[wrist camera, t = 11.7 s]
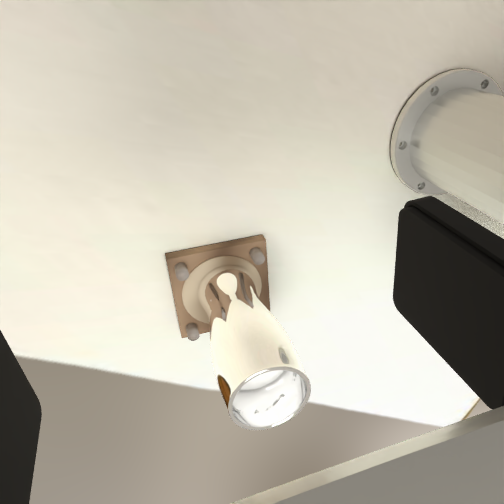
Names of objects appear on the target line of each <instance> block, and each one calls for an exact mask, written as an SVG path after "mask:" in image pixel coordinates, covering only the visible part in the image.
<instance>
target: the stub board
mask: <svg viewBox="0 0 504 504" xmlns="http://www.w3.org/2000/svg"><path fill="white" fill-rule="evenodd" d="M165 256H166V261H167V266H168V271H169V276H170V281H171V286H172V291H173V296H174V301H175V306H176V311H177V316H178V321H179V326H180V331H181V336H182V338H185V337H188V339H189V340H191V341H194V340H197V339H198V338H199V334H202V333H206V332H210V323H209V318H208V316H207V314H206V312H205V310H204V309H203V307H202V306H201V304H200V302H199V299H198V288H199V285H200V283H201V281H202V280H203V278H204V277H205V276H206V275H207V274H208V273H210V272H211V271H213V270H214V269H216V268H219V267H222V266H228V265H234V266H239V267H242V268H244V269H246V270H247V271H248V272H249V273H250V274H251V275H252V276H253V278H254V281H255V284H256V289H257V294H258V297H259V299H260V301H261V302H262V303H263V304H264V306H265V307H266V308H267V309H268V310H269V311H270V301H269V285H268V268H267V252H266V239H265V238H264V236H263V235H257V236H252V237H247V238H242V239H237V240H232V241H227V242H222V243H216V244H211V245H206V246H201V247H196V248H191V249H186V250H181V251H176V252H171V253H166V254H165Z"/></svg>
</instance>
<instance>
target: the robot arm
mask: <svg viewBox="0 0 504 504" xmlns="http://www.w3.org/2000/svg"><path fill="white" fill-rule="evenodd" d="M390 148H391V161H392V165H393V169H394V171H395V173H396V175H397V177H398V178H399V179H400V180H401V181H402V183H403V184H405V185H406V186H407V187H409V188H410V189H412V190H414V191H415V192H417V193H420V194H425V195H441V194H446V193H450V194H451V195H453V196H455V197H457V198H458V199H460V200H462V201H464V202H465V203H467V204H469V205H470V206H472V207H474V208H476V209H477V210H479V211H481V212H482V213H484V214H486V215H488V216H489V217H491V218H493V219H495V220H496V221H498V222H500V223H501V224H503V225H504V96H503V93H502V91H501V89H500V87H499V86H498V84H497V83H496V82H495V81H494V80H493V79H492V78H491V77H490V76H488V75H486V74H485V73H483V72H479V71H475V70H470V69H456V70H450V71H447V72H444V73H441V74H439V75H437V76H436V77H434V78H432V79H430V80H429V81H428V82H426V83H425V84H424V85H423V86H421V87H420V88H419V89H418V90H417V91H416V92H415V93H414V94H413V96H412V97H411V98H410V99H409V100H408V102H407V103H406V105H405V106H404V108H403V109H402V111H401V113H400V115H399V117H398V119H397V121H396V124H395V127H394V130H393V134H392V139H391V147H390ZM393 300H394V304H395V306H396V308H397V310H398V311H399V312H400V313H401V314H402V315H403V316H404V317H405V319H406V320H407V321H408V322H409V323H410V324H411V325H412V326H413V327H414V328H415V329H416V330H417V331H418V332H419V333H420V335H421V336H422V337H423V338H424V339H425V340H426V341H427V342H428V343H429V344H430V345H431V346H432V347H433V348H434V349H435V351H436V352H437V353H438V354H439V355H440V356H441V357H442V358H443V359H444V360H445V361H446V362H447V363H448V364H449V365H450V367H451V368H452V369H453V370H454V371H455V372H456V373H457V374H458V375H459V376H460V377H461V378H462V379H463V380H464V381H465V382H466V384H467V385H468V386H469V387H470V388H471V389H472V390H473V391H474V392H475V393H476V394H477V395H478V396H479V397H480V398H481V400H482V401H483V402H484V403H485V404H486V405H487V406H488V407H489V408H491V409H493V410H490V411H488V412H485V413H482V414H479V415H477V416H473V417H471V418H468V419H465V420H462V421H459V422H456V423H454V424H451V425H448V426H445V427H442V428H439V429H437V430H434V431H431V432H429V433H425V434H423V435H420V436H417V437H414V438H411V439H408V440H405V441H403V442H400V443H397V444H394V445H391V446H389V447H386V448H383V449H380V450H378V451H375V452H372V453H369V454H367V455H364V456H361V457H358V458H355V459H352V460H350V461H347V462H344V463H341V464H338V465H336V466H333V467H330V468H328V469H325V470H322V471H319V472H316V473H313V474H311V475H308V476H305V477H302V478H300V479H297V480H294V481H291V482H288V483H286V484H283V485H280V486H277V487H275V488H272V489H269V490H266V491H263V492H261V493H258V494H255V495H252V496H250V497H247V498H244V499H241V500H239V501H236V502H233V503H230V504H504V239H502V238H501V237H499V236H497V235H496V234H494V233H492V232H491V231H489V230H488V229H486V228H484V227H483V226H481V225H479V224H478V223H476V222H474V221H473V220H471V219H469V218H468V217H466V216H465V215H463V214H461V213H460V212H458V211H456V210H455V209H453V208H451V207H450V206H448V205H446V204H445V203H443V202H441V201H440V200H438V199H437V198H435V197H432V196H428V197H424V198H419V199H415V200H411V201H408V202H407V203H406V204H405V206H404V209H402V210H401V211H400V213H399V221H398V234H397V248H396V262H395V276H394V289H393ZM41 415H42V414H41V406H40V402H39V400H38V398H37V396H36V394H35V392H34V390H33V389H32V387H31V385H30V383H29V382H28V380H27V378H26V376H25V374H24V372H23V370H22V369H21V367H20V365H19V363H18V361H17V360H16V358H15V356H14V354H13V352H12V351H11V349H10V347H9V345H8V343H7V341H6V340H5V338H4V336H3V334H2V332H1V331H0V504H29V500H30V492H31V486H32V479H33V472H34V465H35V458H36V451H37V444H38V437H39V430H40V423H41Z"/></svg>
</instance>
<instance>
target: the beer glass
mask: <svg viewBox="0 0 504 504" xmlns="http://www.w3.org/2000/svg"><path fill="white" fill-rule="evenodd" d="M198 299H199V302H200V304H201V306H202V307H203V309H204V310H205V312H206V314H207V316H208V318H209V323H210V348H211V358H212V364H213V369H214V373H215V377H216V380H217V383H218V386H219V389H220V391H221V394H222V397H223V399H224V401H225V404H226V406H227V409H228V412H229V416H230V417H231V419H232V421H233V422H234V423H235V424H237V425H238V426H240V427H242V428H245V429H249V430H265V429H270V428H274V427H277V426H279V425H282V424H284V423H286V422H287V421H289V420H291V419H292V418H293V417H295V416H296V415H297V414H298V413H299V412H300V411H301V410H302V409H303V408H304V406H305V405H306V403H307V401H308V399H309V396H310V392H311V385H310V381H309V379H308V377H307V375H306V373H305V370H304V368H303V365H302V363H301V360H300V358H299V355H298V353H297V351H296V349H295V347H294V345H293V343H292V341H291V339H290V338H289V336H288V334H287V332H286V331H285V329H284V328H283V327H282V326H281V324H280V323H279V322H278V320H277V319H276V318H275V317H274V316H273V315H272V313H271V312H270V311H269V310H268V309H267V308H266V307H265V306H264V304H263V303H262V302H261V301H260V299H259V297H258V294H257V289H256V284H255V281H254V278H253V276H252V275H251V274H250V273H249V272H248V271H247V270H246V269H244V268H242V267H239V266H234V265H228V266H222V267H219V268H216V269H214V270H213V271H211V272H210V273H208V274H207V275H206V276H205V277H204V278H203V280H202V281H201V283H200V285H199V288H198Z"/></svg>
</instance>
